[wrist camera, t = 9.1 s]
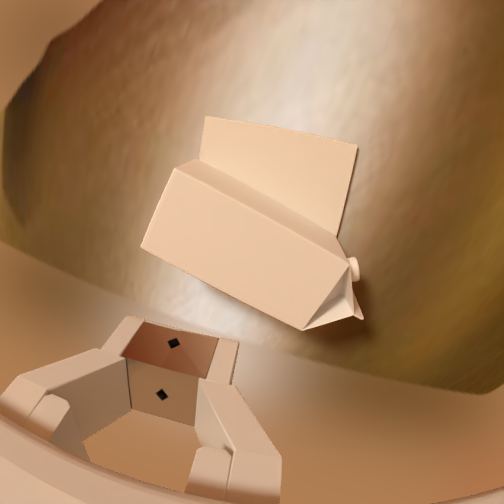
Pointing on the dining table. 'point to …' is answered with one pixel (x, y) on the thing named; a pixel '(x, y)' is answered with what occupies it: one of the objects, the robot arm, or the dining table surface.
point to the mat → (283, 165)
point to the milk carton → (252, 248)
